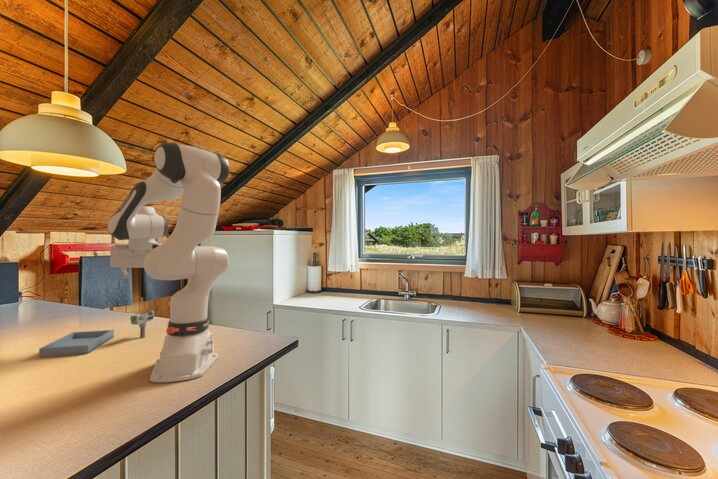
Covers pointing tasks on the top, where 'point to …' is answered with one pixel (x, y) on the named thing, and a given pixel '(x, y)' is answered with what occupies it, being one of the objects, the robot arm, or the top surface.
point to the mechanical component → (142, 320)
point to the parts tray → (76, 343)
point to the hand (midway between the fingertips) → (140, 278)
